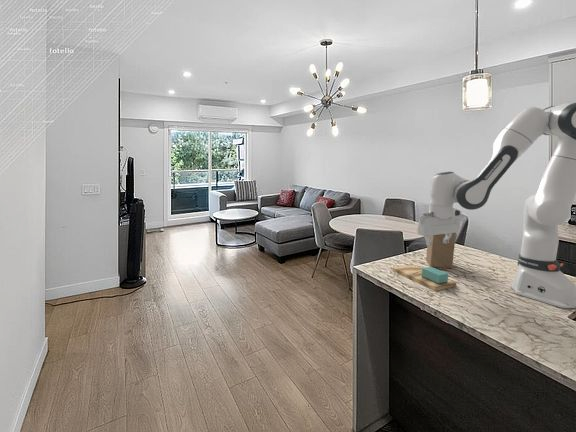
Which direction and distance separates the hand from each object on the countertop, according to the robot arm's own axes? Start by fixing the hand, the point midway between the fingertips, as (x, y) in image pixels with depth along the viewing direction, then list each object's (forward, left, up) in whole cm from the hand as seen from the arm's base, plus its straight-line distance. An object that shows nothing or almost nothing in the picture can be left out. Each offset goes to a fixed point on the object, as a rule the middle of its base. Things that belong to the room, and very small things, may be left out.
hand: (437, 244), depth 130 cm
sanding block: (0, 0, -16) cm, 16 cm away
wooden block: (+17, -22, -18) cm, 33 cm away
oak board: (+6, 0, -17) cm, 18 cm away
